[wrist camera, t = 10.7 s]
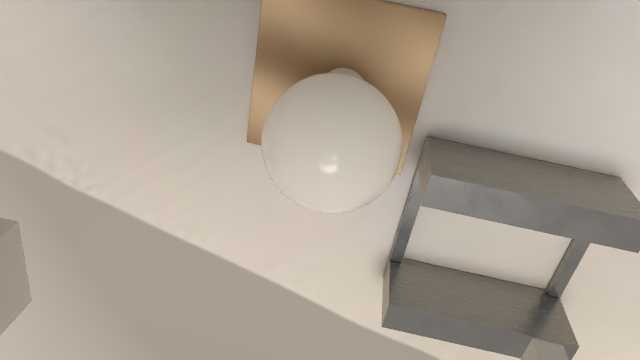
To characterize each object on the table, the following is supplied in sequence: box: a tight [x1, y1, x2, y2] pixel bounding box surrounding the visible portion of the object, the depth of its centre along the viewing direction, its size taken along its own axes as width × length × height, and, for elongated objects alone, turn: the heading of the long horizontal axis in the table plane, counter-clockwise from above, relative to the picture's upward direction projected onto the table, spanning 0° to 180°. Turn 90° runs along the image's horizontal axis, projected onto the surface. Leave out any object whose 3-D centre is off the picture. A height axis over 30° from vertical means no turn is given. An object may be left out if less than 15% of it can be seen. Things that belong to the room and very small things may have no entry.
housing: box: [382, 136, 640, 360], centre depth 32 cm, size 12×12×5 cm
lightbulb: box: [261, 68, 403, 214], centre depth 25 cm, size 6×6×11 cm
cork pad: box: [247, 0, 446, 175], centre depth 30 cm, size 10×10×1 cm
